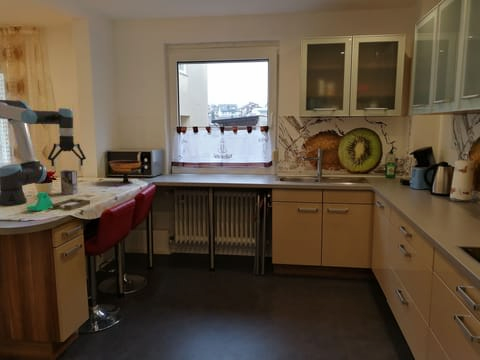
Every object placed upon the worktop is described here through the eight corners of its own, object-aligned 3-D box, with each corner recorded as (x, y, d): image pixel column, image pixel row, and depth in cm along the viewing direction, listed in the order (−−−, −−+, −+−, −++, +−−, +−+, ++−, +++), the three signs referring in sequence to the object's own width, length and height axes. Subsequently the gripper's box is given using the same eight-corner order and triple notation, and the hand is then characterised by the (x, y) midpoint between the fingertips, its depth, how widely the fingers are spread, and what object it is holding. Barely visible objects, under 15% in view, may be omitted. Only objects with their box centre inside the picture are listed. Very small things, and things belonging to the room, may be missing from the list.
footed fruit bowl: (97, 182, 307) (97, 161, 304) (118, 178, 330) (118, 159, 327) (133, 187, 293) (133, 164, 290) (152, 182, 316) (152, 161, 314)
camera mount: (42, 206, 222) (41, 189, 221) (53, 207, 221) (52, 190, 219) (26, 211, 211) (25, 193, 209) (37, 212, 209) (36, 194, 207)
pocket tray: (52, 208, 219) (52, 204, 219) (72, 202, 235) (71, 198, 235) (71, 210, 216) (71, 206, 216) (90, 203, 232) (89, 200, 232)
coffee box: (78, 192, 265) (77, 170, 262) (73, 194, 259) (72, 171, 256) (66, 192, 266) (65, 169, 264) (61, 193, 260) (59, 171, 257)
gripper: (42, 135, 207) (43, 173, 211) (90, 136, 219) (90, 171, 223) (42, 134, 214) (43, 171, 217) (88, 135, 226) (89, 169, 229)
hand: (67, 171), depth 220 cm, fingers open, 13 cm apart
